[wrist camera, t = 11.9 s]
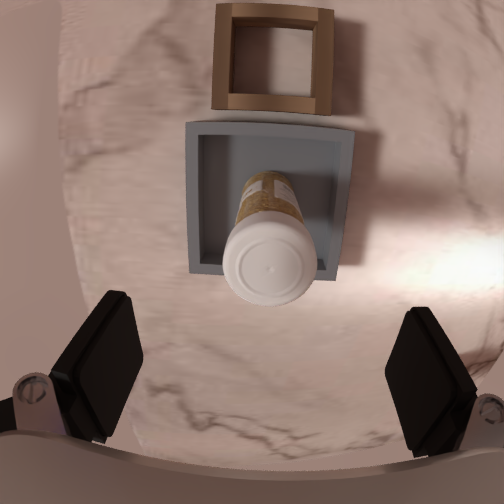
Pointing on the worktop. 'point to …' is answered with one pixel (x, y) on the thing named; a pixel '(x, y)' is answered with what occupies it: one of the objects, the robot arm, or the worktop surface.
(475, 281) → the worktop surface
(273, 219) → the sprinkles bottle
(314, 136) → the gray square tray
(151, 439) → the worktop surface
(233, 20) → the walnut holder
